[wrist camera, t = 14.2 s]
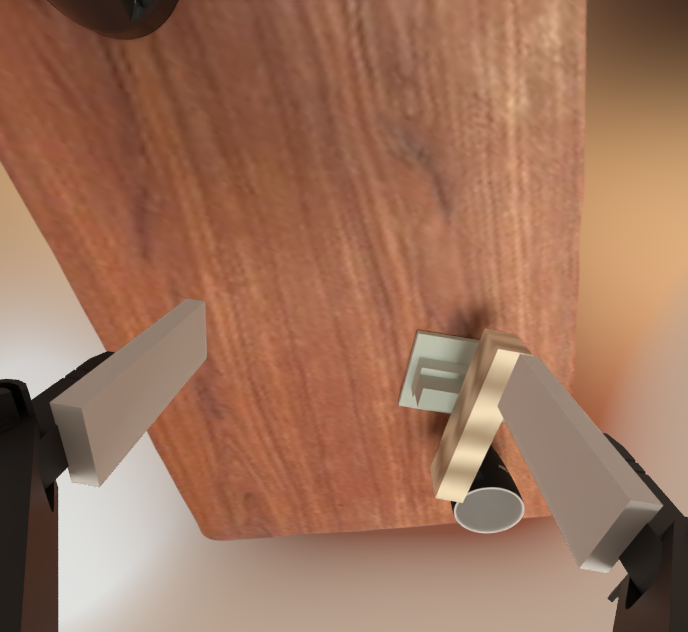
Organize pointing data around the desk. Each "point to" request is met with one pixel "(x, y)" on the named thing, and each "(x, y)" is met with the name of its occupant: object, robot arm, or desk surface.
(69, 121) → the desk surface
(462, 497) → the birch bar
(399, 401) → the ridge
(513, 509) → the mug
